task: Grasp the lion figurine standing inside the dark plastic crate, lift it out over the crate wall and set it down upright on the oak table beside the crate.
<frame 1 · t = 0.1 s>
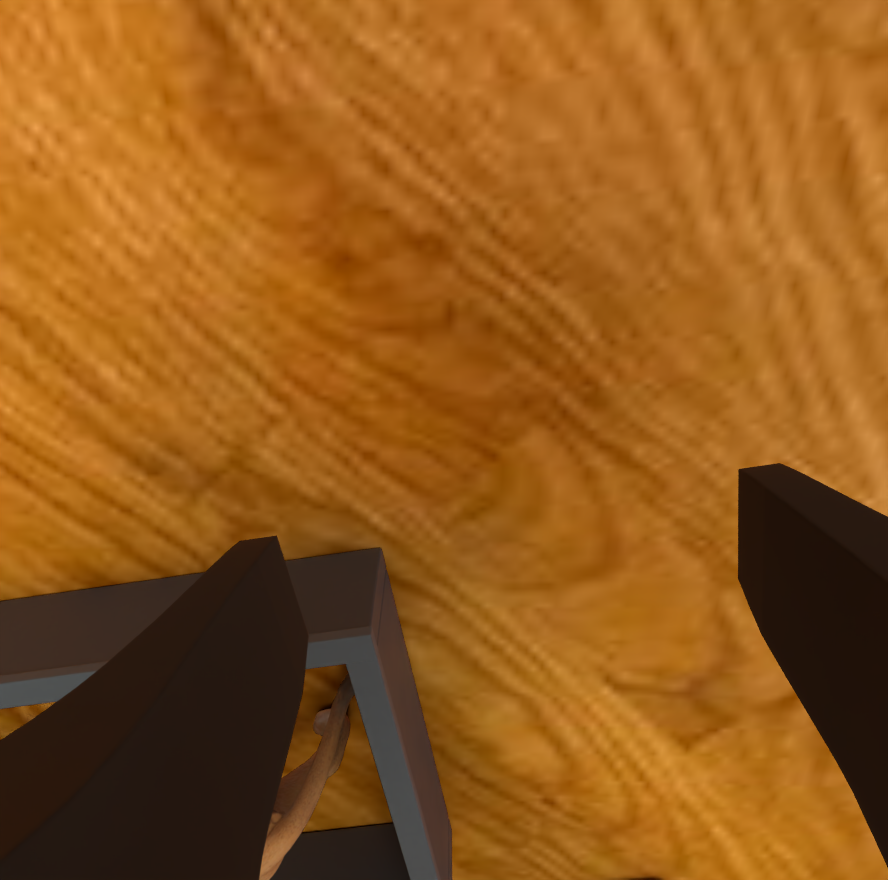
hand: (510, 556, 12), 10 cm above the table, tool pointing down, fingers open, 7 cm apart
crate: (183, 733, 28), on the table
lion figurine: (184, 729, 28), resting in crate
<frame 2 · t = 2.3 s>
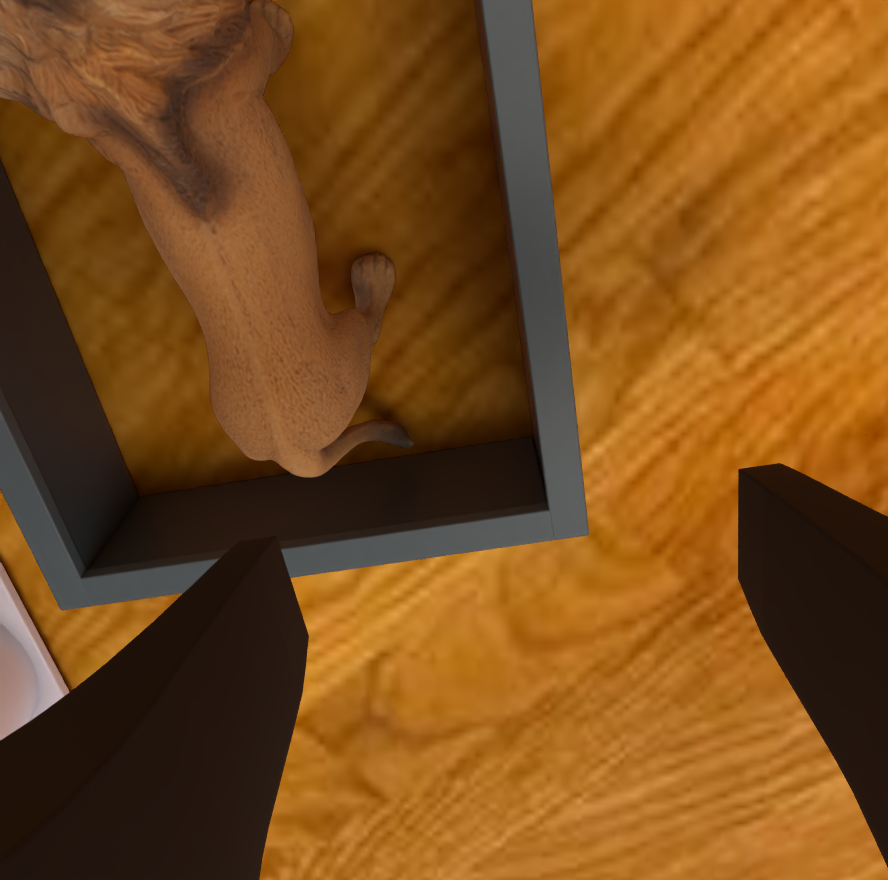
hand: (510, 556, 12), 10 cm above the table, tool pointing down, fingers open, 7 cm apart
crate: (256, 189, 19), on the table
lion figurine: (258, 187, 19), resting in crate
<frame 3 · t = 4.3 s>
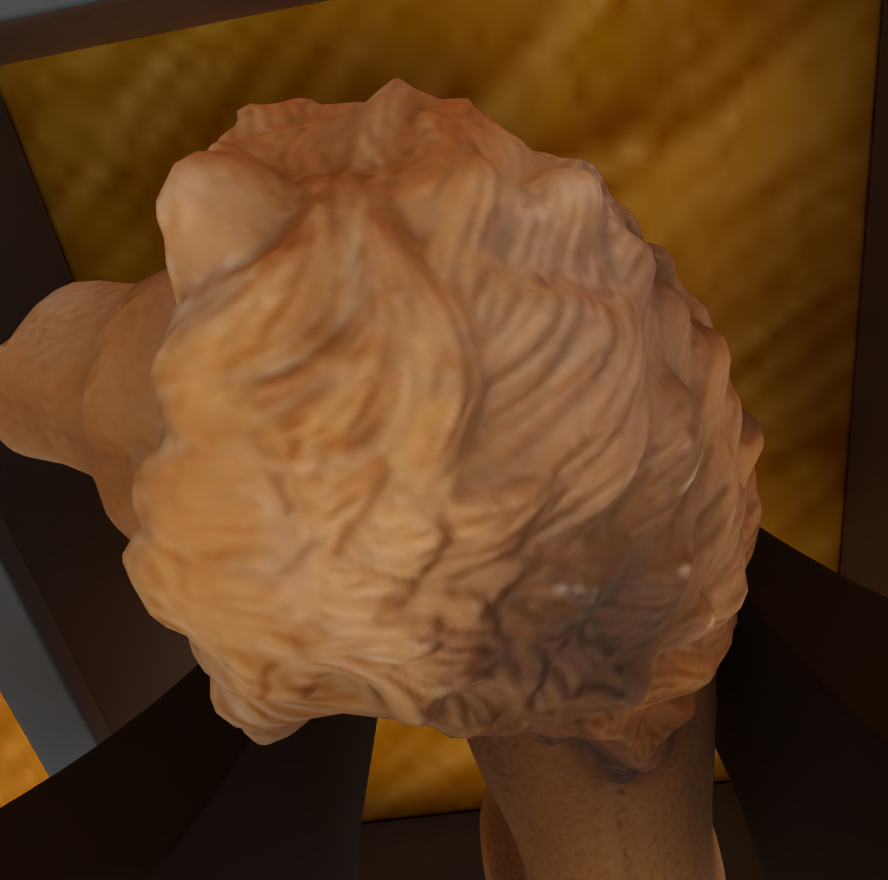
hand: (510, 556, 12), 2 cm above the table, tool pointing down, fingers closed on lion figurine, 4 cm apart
crate: (501, 497, 13), on the table
lion figurine: (490, 486, 13), resting in crate, touching gripper
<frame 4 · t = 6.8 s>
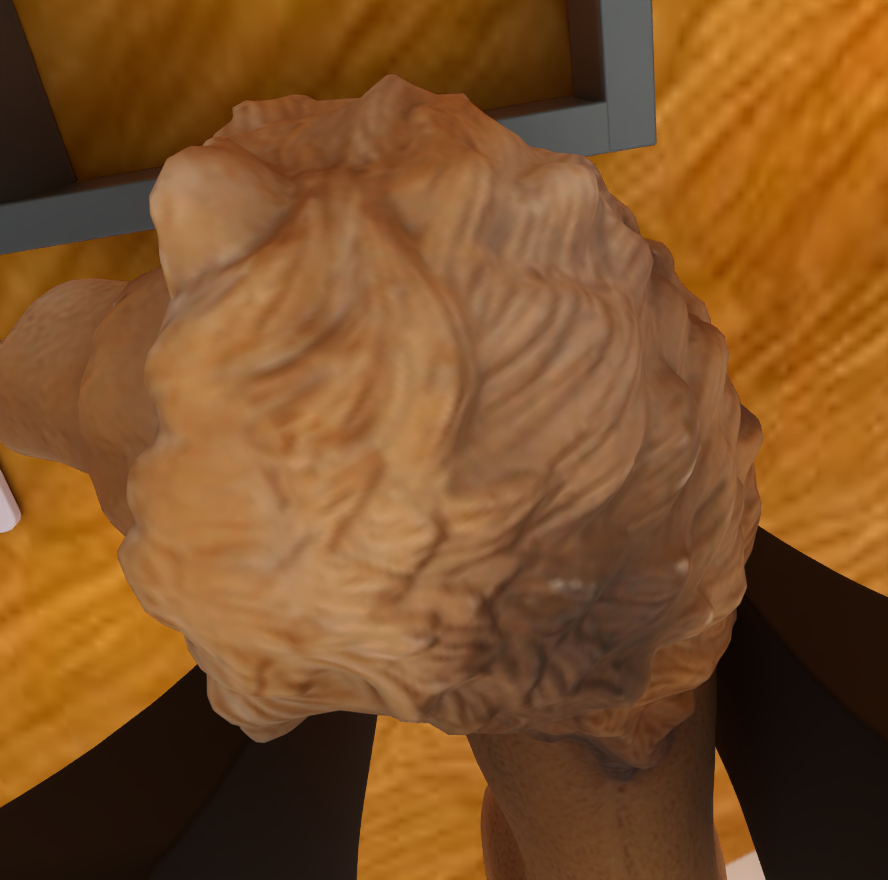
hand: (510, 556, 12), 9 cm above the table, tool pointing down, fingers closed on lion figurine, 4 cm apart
lion figurine: (490, 484, 13), point 7 cm above the table, touching gripper
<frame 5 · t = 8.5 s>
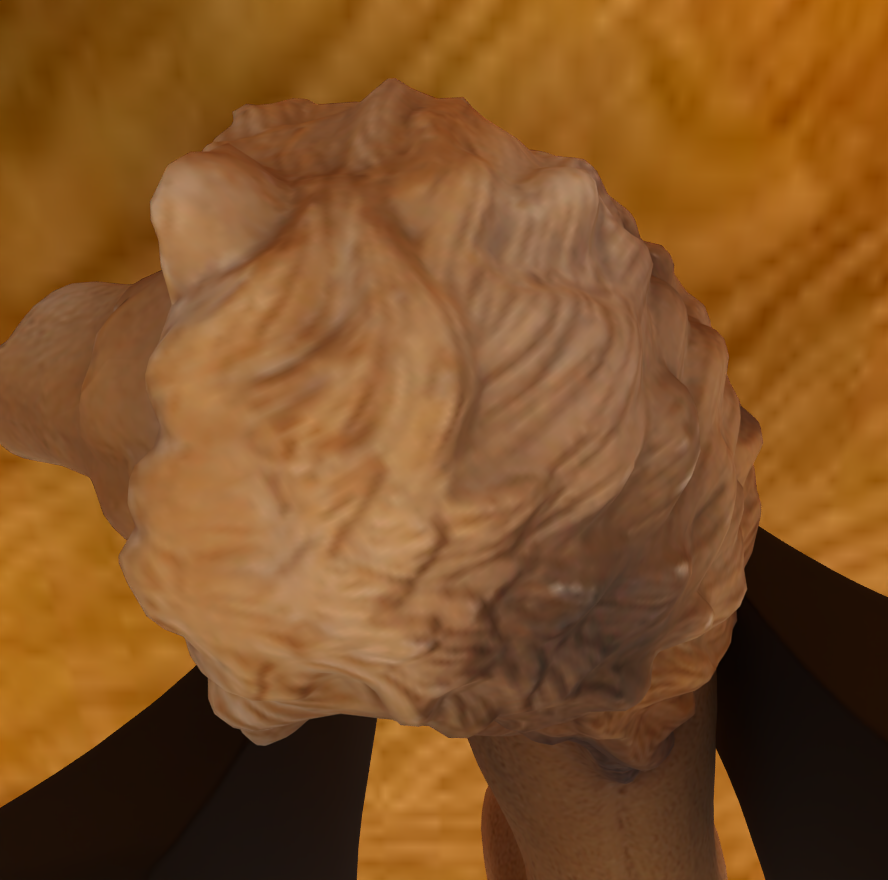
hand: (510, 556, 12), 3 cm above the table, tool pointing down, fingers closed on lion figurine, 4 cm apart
lion figurine: (490, 485, 13), point 2 cm above the table, touching gripper
when the fingers open (2 cm above the table, at t = 9.5 s): lion figurine stays where it is, on the table.
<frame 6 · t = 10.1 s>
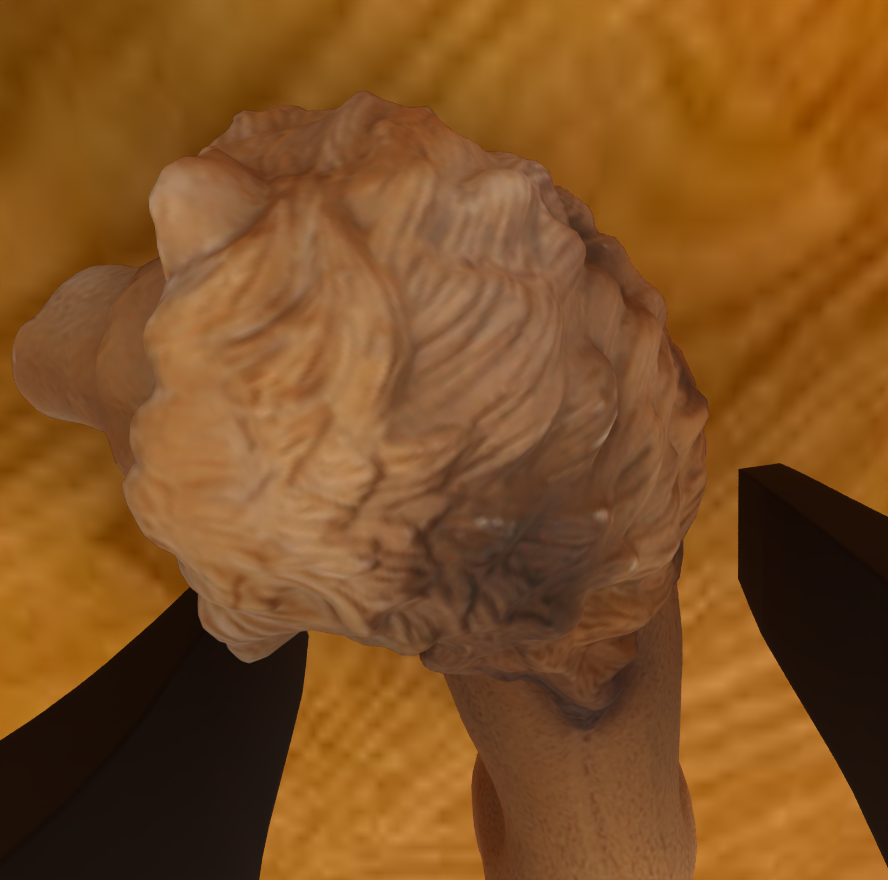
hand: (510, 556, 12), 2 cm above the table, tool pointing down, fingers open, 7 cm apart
lion figurine: (489, 466, 14), on the table
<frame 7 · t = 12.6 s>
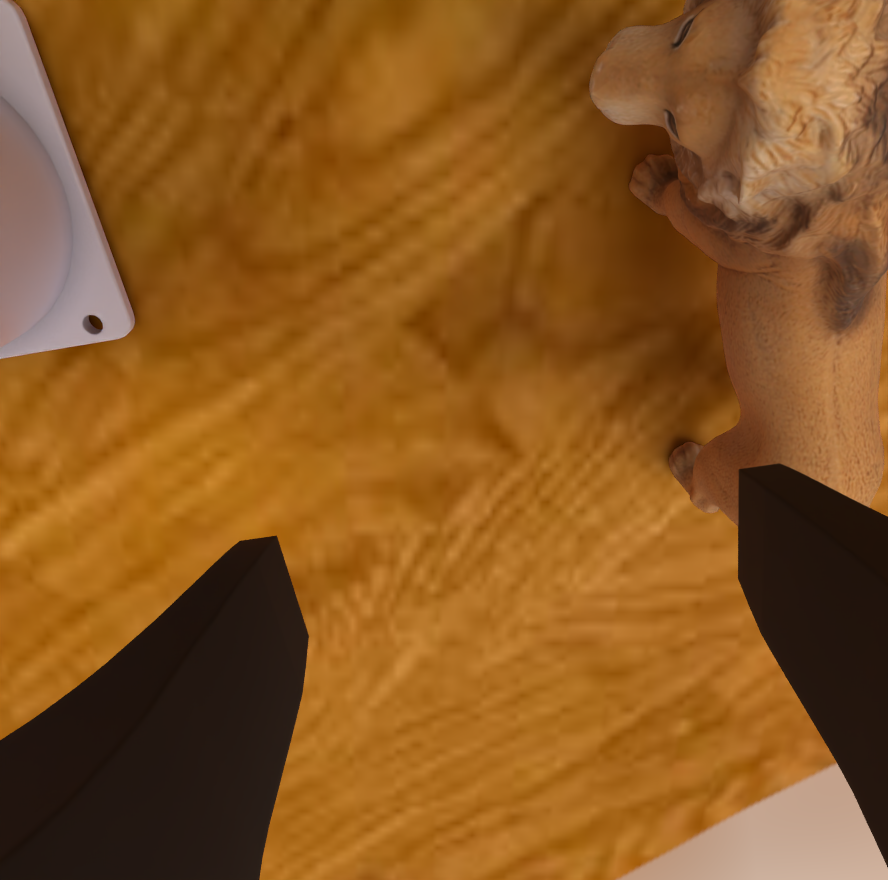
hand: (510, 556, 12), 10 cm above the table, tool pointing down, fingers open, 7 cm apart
lion figurine: (694, 265, 20), on the table
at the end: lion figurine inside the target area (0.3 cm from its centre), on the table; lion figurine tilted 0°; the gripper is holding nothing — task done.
